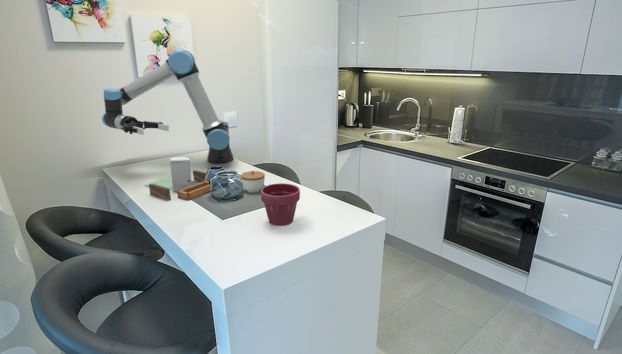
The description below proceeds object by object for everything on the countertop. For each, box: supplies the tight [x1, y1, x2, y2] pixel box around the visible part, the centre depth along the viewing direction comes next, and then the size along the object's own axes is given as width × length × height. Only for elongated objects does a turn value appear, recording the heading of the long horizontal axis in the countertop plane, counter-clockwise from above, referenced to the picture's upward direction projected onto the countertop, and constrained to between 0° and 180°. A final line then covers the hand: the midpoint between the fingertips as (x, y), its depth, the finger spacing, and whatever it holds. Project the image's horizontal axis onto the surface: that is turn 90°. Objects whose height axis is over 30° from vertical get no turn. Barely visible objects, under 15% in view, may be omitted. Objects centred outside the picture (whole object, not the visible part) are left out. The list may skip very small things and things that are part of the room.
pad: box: [144, 176, 173, 190], centre depth 168 cm, size 14×14×1 cm
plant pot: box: [260, 183, 301, 227], centre depth 129 cm, size 14×14×13 cm
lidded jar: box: [240, 170, 266, 193], centre depth 160 cm, size 11×11×9 cm
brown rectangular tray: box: [177, 181, 211, 201], centre depth 157 cm, size 16×6×3 cm, turn 148°
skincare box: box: [170, 156, 193, 193], centre depth 159 cm, size 8×6×15 cm
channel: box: [148, 169, 207, 201], centre depth 161 cm, size 26×12×5 cm, turn 148°
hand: (155, 129), depth 163 cm, fingers open, 13 cm apart
